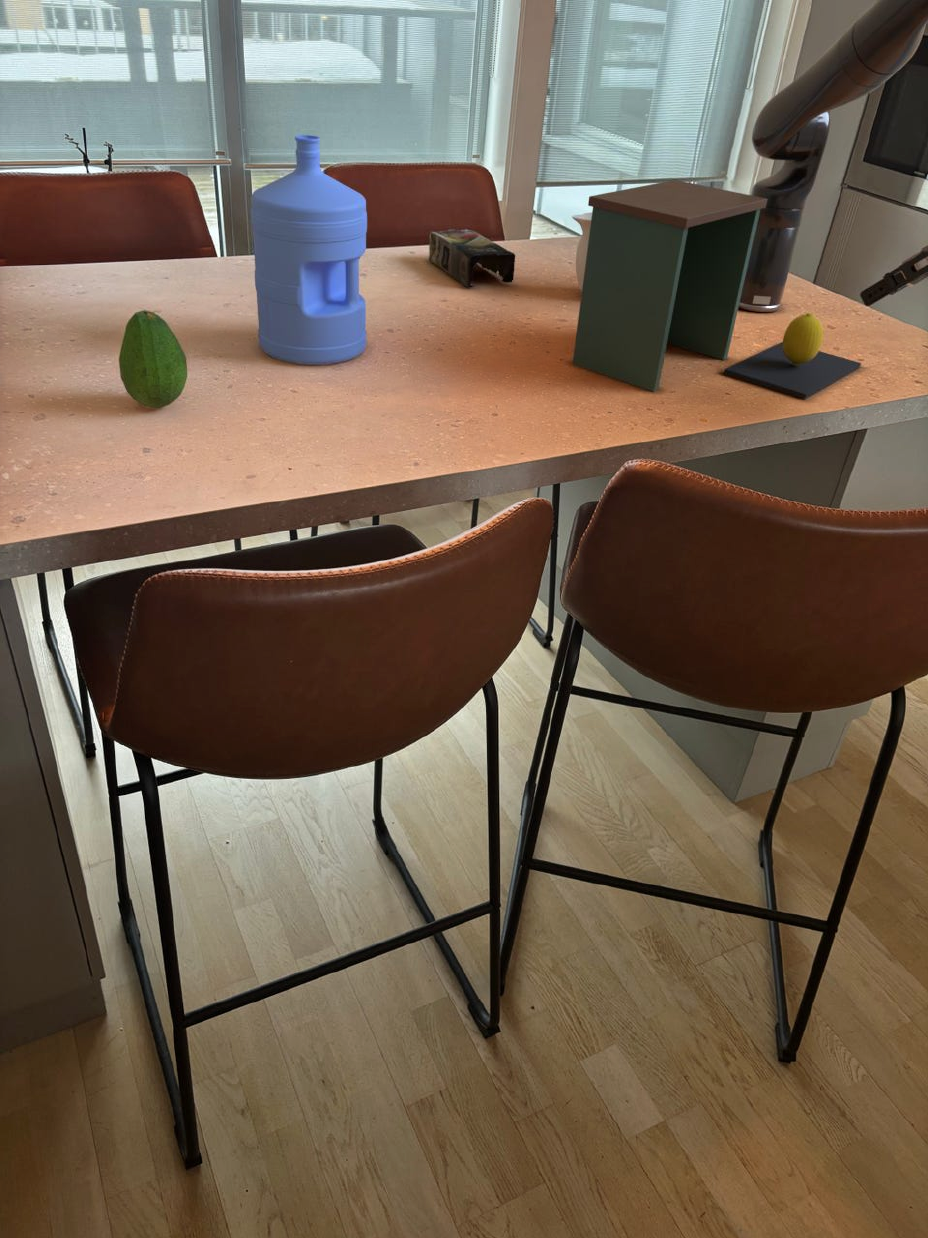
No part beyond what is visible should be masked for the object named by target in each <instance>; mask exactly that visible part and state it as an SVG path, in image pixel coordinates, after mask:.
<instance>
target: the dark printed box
mask: <svg viewBox="0 0 928 1238" xmlns="http://www.w3.org/2000/svg"><path fill="white" fill-rule="evenodd" d="M428 250H429V251H428V254H429V255H428V261H429V262H430V263H431V264H434V265H435V266H436V267H439V268H440V269H442V270H443V271H445V273H447V274H448V275H449V276H451V277H452V278H453V279H455V280H456V281H458V282H459V283H460V284H462V285H463V286H464V287H466V288H473V287H474V285H471V282H472V279H473V278H472V277H473V274H474V270H475V266H476V265H477V264H478V265H480V266H481V268H482V269H486V270H487V271H491V272H492V273H493V274H495V275H497V274H498V276H499V277H500V278H501V279H502V280H501V281H502V282H504V283H509V284H510V283H513V281H514V276H515V264H516V254H515V253H514V252H512V251H510V250H508V249H506V248H504V247H503V246H501V245H500V244H498V243H496V242H493V241H492V240H490V239H489V238H487V237H485V236H483V235H482V234H480V233H478V232H476V231H475V230H472V229H461V230H460V229H458V228H453V229H448V230H440V231H430V234H429V246H428Z"/></svg>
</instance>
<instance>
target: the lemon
mask: <svg viewBox="0 0 928 1238" xmlns="http://www.w3.org/2000/svg"><path fill="white" fill-rule="evenodd" d="M785 329H786V330H785V332H784V335H783V337H782V342H783V352H784V355H785V356H786V358H787V359H789V360H790V361H791V362H792V364H793V365H794V366H799V365H800V364H801V363H805V362H808V361H810V360H811V359H813V358H814V357H815V356H816V354H817V353H818V351H820V349H821V346H822V344H823V338H824V328H823V325H822V323H821V321H820V320H819V319H818V318H817V317H815V316H814V315H813V313H810V312H807V313H806V314H802V315H799V316H797V317H795V318H794V319H792V321H791V322H790V323H789V324H788V325H787V328H785Z"/></svg>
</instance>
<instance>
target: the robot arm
mask: <svg viewBox="0 0 928 1238" xmlns="http://www.w3.org/2000/svg"><path fill="white" fill-rule="evenodd" d="M927 24H928V0H876V1H874V3H873V4H872V5H871V6H870V7H869V8H867V9H866V10H865V11H864V12H863V13H862V14H861V15H860V16H859V17H858V18H857V19H856V20H855V21H854V22H853V23H852V24H851V25H850V26H849V27H848V28H846V30H845V31H844V32H843V33H842V34H841V35H840V37H838V39H837V40H835V42H834V43H833V44H832V45H831V46H830V47H829V48H828V49H827V50H826V51H825V52H824V53H823V54H821V55H820V56H819V58H817V59H816V61H814V62H813V63H812V64H811V65H810V66H809V67H808V68H807V69H806V70H805V71H804V72H803V73H802V74H801V75H799V76H798V77H797V78H796V79H794V80H793V81H791V83H789V84H788V85H786V87H784V88H783V89H782V90H780V91H778V92H777V93H776V94H775V95H774V96H773V97H772V98H770V99H769V100H768V101H767V103H765V104H764V106H763V107H762V108H761V110H760V112H759V113H758V115H757V116H756V119H755V122H754V124H753V127H752V132H751V144H752V148H753V150H754V151H755V153H756V154H757V155H758V156H759V157H761V158H763V159H766V160H771V161H783V163H782V166H780V167H779V169H778V170H777V171H775V172H774V173H773V174H770V175H769V176H767V177H765V178H763V179H761V180H758V181H757V182H755V183H754V184H753V186H752V188H751V192H750V195H751V196H756V197H761V198H766V199H767V204H766V207H765V208H762V209H760V214H759V218H758V223H757V227H756V231H755V236H754V240H753V245H752V249H751V254H750V258H749V262H748V267H747V271H746V276H745V280H744V285H743V289H742V294H741V298H740V302H739V307H738V309H741V310H744V311H749V312H757V313H772V312H777V311H780V309H781V306H782V300H783V295H784V290H785V288H786V283H787V280H788V275H789V271H790V268H791V263H792V259H793V256H794V252H795V248H796V244H797V240H798V235H799V232H800V227H801V223H802V219H803V215H804V213H805V208H806V203H807V200H808V197H809V195H810V194H811V192H812V191H813V188H814V186H815V184H816V179H817V176H818V173H819V170H820V166H821V164H822V160H823V158H824V157H823V156H824V153H825V150H826V147H827V143H828V140H829V135H830V131H831V122H832V121H831V119H832V118H831V111H832V110H835V109H837V108H839V107H842V106H845V105H846V104H849V103H853V102H854V101H857V100H858V99H861V98H863V97H865V96H867V95H869V94H870V93H872V92H874V91H876V90H877V89H878V88H880V87H881V86H883V85H884V84H885V83H886V82H887V81H888V80H889V79H890V78H892V77H893V76H894V75H895V74H896V73H898V71H900V70H901V69H902V68H903V67H904V66H905V65H906V64H907V63H908V62H909V61H910V60H911V59H912V58H913V56H915V54H916V52H917V50H918V48H919V46H920V44H921V41H922V40H923V36H924V32H925V30H926V25H927ZM926 279H928V244H927V245H925V246H923V247H922V248H921V249H919V250H918V252H917V253H915V254H914V255H912V256H910V257H908V258H906V259H905V260H903V261H902V262H900V263H899V265H898V267H896V268H895V269H893V270H891V271H890V272H887V273H884V275H883V276H882V279H880V280H878V281H877V282H875V283H874V284H872V285H870V286H867V287H866V288H865V289H864V290H862V291H861V292H860V293H859V296H860V298H861V301H862V302H863V304H864V306H866V307H871V306H872V305H874V304H876V303H877V302H879V301H881V300H882V299H884V298H886V297H887V296H892V295H893V296H894V295H895V294H896V293H898V292H900V291H902V290H903V289H905V288H907V287H914V286H915V285H918V284H919V283H921V282H922V281H924V280H926Z"/></svg>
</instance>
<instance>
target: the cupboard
mask: <svg viewBox="0 0 928 1238" xmlns="http://www.w3.org/2000/svg"><path fill="white" fill-rule="evenodd" d="M766 204H767V199H766V198H761V197H756V196H751V194H746V193H742V192H737V191H731V190H726V189H721V188H718V187H712V186H707V185H703V184H697V183H692V182H688V181H682V180H677V179H673V180H667V181H662V182H658V183H651V184H647V185H641V186H636V187H632V188H626V189H621V190H615V191H610V192H604V193H599V194H595V195H591V196H589V197H588V203H587V206H588V207H592V212H591V213H592V218H591V226H590V234H589V241H588V249H587V257H586V264H585V272H584V280H583V287H582V291H581V295H580V296H581V298H580V303H579V310H578V311H579V312H578V317H577V318H578V319H577V327H576V333H575V342H574V350H573V357H572V365H573V366H574V365H575V366H577V367H581V368H583V369H586V370H589V371H592V372H594V373H598V374H601V375H603V376H605V377H610V378H612V379H615V380H618V381H621V382H624V383H627V384H630V385H633V386H635V387H639V388H641V389H645V390H647V391H650V392H653V393H655V392H656V391H659V388H660V383H661V377H662V371H663V366H664V360H665V355H666V351H667V345H668V344H669V345H672V346H677V347H680V348H682V349H685V350H688V351H692V352H695V353H699V354H702V355H705V356H708V357H712V358H714V359H718V360H721V361H724V360H727V359H728V356H729V350H730V347H731V342H732V337H733V333H734V329H735V325H736V320H737V315H738V310H739V308H738V307H739V302H740V298H741V294H742V289H743V285H744V280H745V276H746V271H747V267H748V262H749V258H750V254H751V249H752V245H753V240H754V236H755V231H756V227H757V223H758V218H759V214H760V209H762V208H765V207H766Z"/></svg>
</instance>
